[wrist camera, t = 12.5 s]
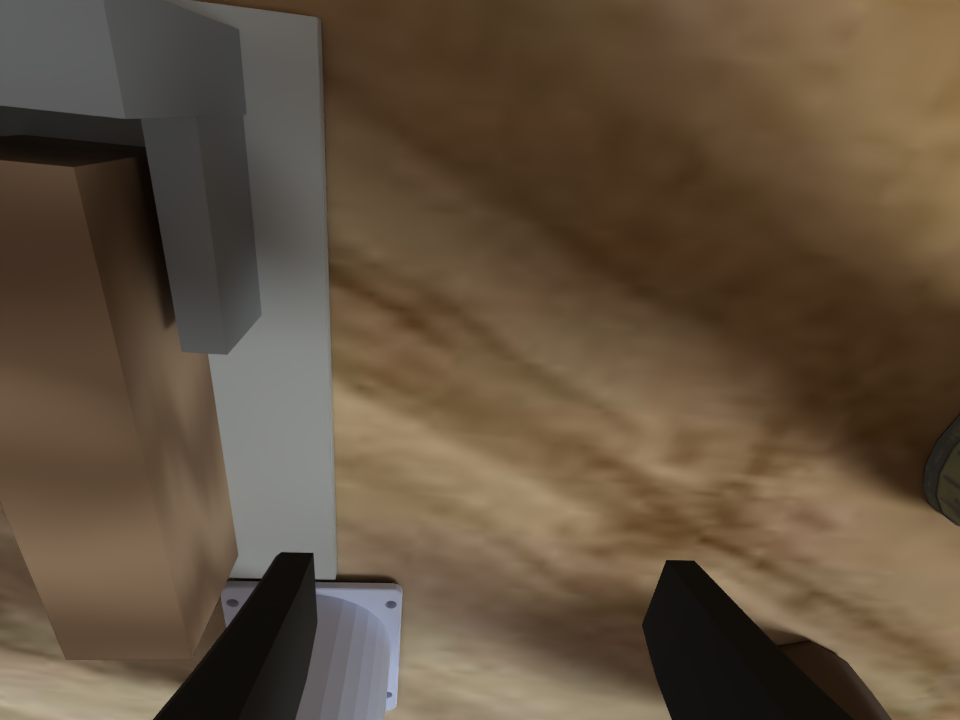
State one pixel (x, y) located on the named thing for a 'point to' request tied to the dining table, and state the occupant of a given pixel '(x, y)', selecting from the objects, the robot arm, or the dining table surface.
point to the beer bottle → (836, 680)
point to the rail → (104, 409)
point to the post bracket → (215, 218)
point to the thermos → (945, 474)
